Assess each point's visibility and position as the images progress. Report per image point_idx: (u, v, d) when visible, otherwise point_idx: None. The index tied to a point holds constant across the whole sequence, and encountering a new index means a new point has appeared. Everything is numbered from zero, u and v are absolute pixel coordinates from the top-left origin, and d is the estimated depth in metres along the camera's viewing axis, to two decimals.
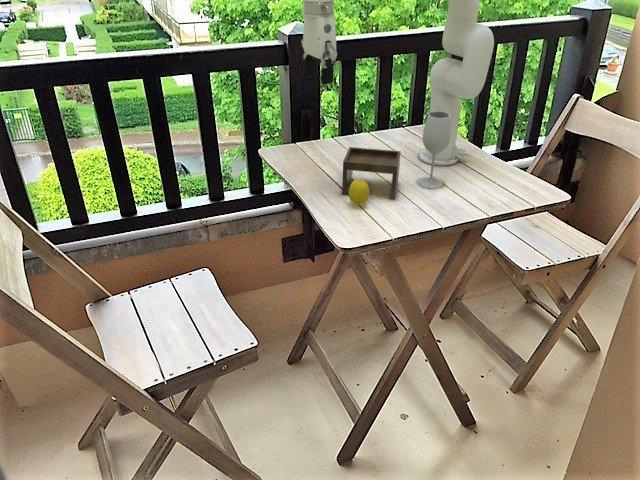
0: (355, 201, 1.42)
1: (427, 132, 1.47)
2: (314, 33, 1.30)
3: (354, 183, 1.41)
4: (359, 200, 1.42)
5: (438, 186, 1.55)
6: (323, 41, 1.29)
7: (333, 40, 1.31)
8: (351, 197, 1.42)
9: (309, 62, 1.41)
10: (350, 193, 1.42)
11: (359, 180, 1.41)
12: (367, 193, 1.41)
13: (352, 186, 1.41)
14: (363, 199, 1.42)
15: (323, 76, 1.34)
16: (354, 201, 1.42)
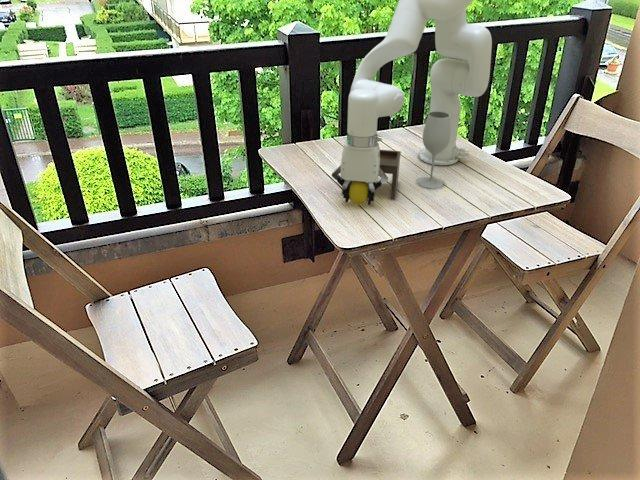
0: (355, 201, 1.42)
1: (427, 132, 1.47)
2: (368, 162, 1.36)
3: (354, 183, 1.41)
4: (359, 200, 1.42)
5: (438, 186, 1.55)
6: (378, 166, 1.37)
7: None
8: (351, 197, 1.42)
9: (348, 190, 1.43)
10: (350, 193, 1.42)
11: None
12: (367, 193, 1.41)
13: (352, 186, 1.41)
14: (363, 199, 1.42)
15: (370, 198, 1.42)
16: (354, 201, 1.42)
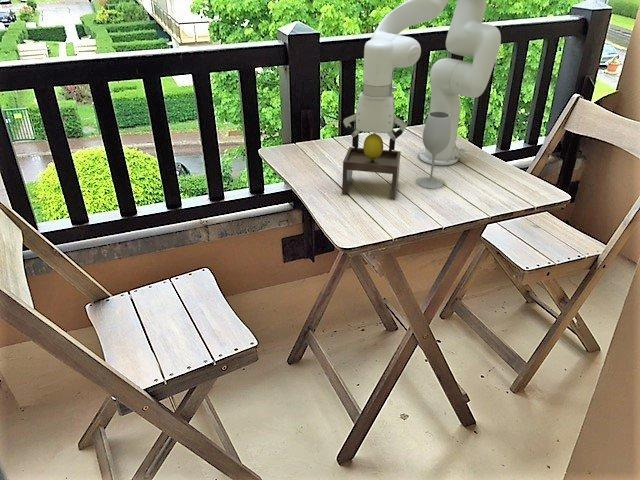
0: (369, 155, 1.46)
1: (427, 132, 1.47)
2: (383, 112, 1.39)
3: (369, 137, 1.45)
4: (373, 154, 1.46)
5: (438, 186, 1.55)
6: (393, 117, 1.41)
7: None
8: (366, 151, 1.46)
9: (357, 138, 1.47)
10: (365, 147, 1.46)
11: (374, 134, 1.45)
12: (381, 147, 1.46)
13: (367, 140, 1.45)
14: (377, 153, 1.46)
15: (391, 147, 1.45)
16: (369, 155, 1.46)
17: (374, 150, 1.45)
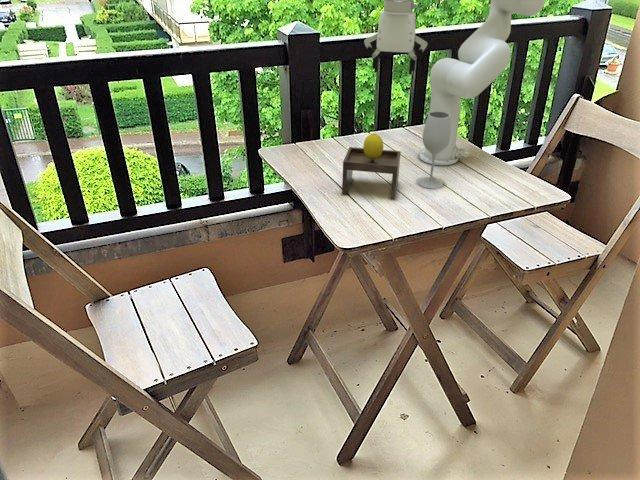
0: (369, 155, 1.46)
1: (427, 132, 1.47)
2: (404, 29, 1.40)
3: (369, 137, 1.45)
4: (373, 154, 1.46)
5: (438, 186, 1.55)
6: (414, 35, 1.42)
7: None
8: (366, 151, 1.46)
9: (378, 59, 1.48)
10: (365, 147, 1.46)
11: (374, 134, 1.45)
12: (381, 147, 1.46)
13: (367, 140, 1.45)
14: (377, 153, 1.46)
15: (411, 67, 1.46)
16: (369, 155, 1.46)
17: (374, 150, 1.45)
